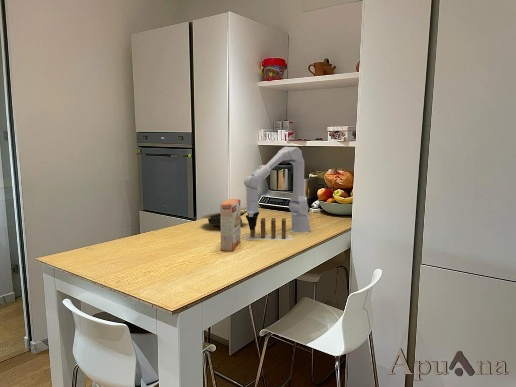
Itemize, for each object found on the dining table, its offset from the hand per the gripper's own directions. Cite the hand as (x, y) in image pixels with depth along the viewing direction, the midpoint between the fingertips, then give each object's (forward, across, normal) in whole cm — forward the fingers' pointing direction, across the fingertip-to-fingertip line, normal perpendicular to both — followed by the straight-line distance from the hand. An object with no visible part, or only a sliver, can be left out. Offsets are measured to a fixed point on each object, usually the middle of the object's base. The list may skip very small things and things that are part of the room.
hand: (252, 228), depth 190 cm
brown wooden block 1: (+3, 0, 0) cm, 3 cm away
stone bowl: (+5, -24, -19) cm, 31 cm away
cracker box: (+5, +15, -8) cm, 18 cm away
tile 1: (+4, 0, +15) cm, 16 cm away
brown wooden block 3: (+4, 0, +10) cm, 11 cm away
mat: (+5, 0, +8) cm, 9 cm away
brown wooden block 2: (+4, 0, +5) cm, 7 cm away
